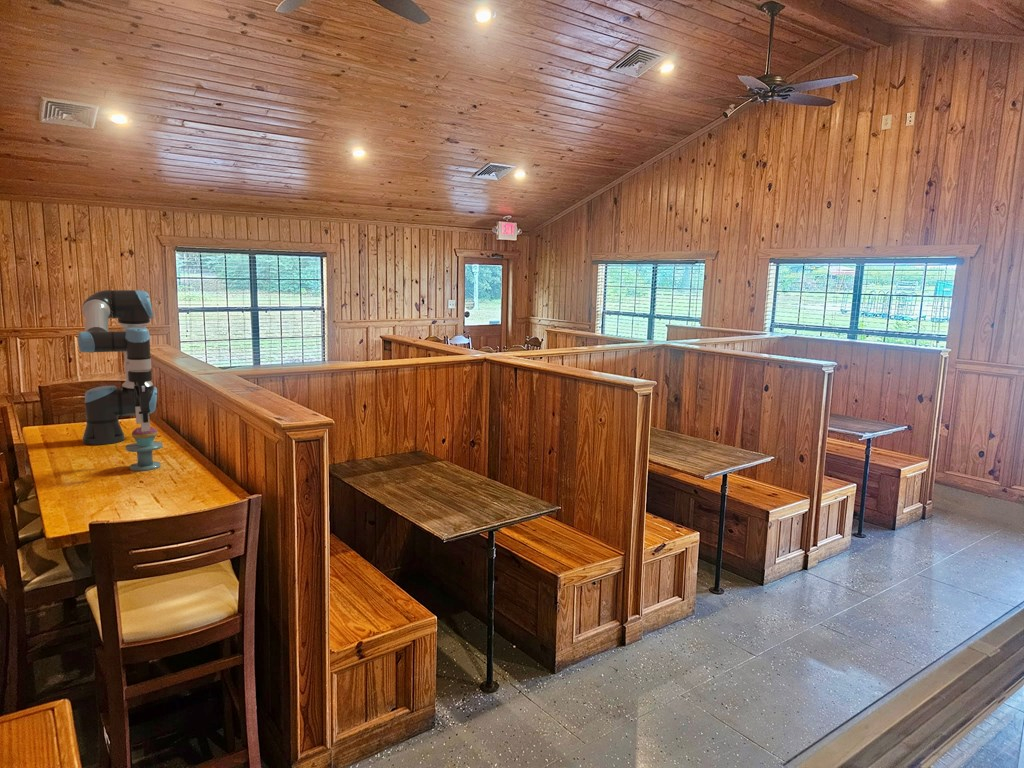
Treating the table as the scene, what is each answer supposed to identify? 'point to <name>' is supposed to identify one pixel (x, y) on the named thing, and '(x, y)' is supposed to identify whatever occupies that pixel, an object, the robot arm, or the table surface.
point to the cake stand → (144, 456)
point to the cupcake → (144, 436)
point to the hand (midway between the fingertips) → (143, 427)
